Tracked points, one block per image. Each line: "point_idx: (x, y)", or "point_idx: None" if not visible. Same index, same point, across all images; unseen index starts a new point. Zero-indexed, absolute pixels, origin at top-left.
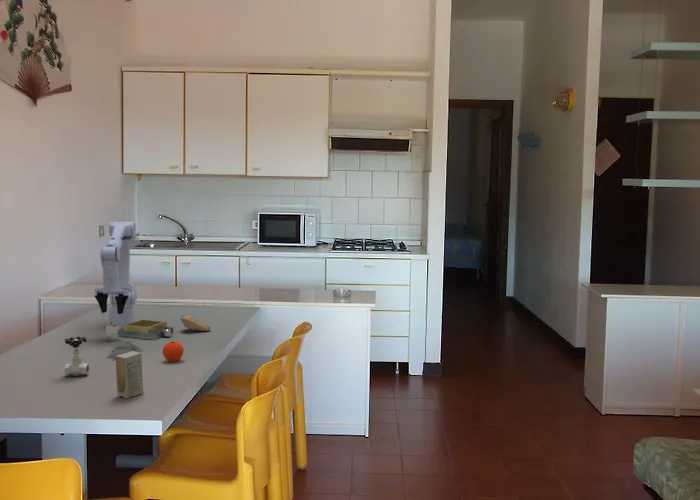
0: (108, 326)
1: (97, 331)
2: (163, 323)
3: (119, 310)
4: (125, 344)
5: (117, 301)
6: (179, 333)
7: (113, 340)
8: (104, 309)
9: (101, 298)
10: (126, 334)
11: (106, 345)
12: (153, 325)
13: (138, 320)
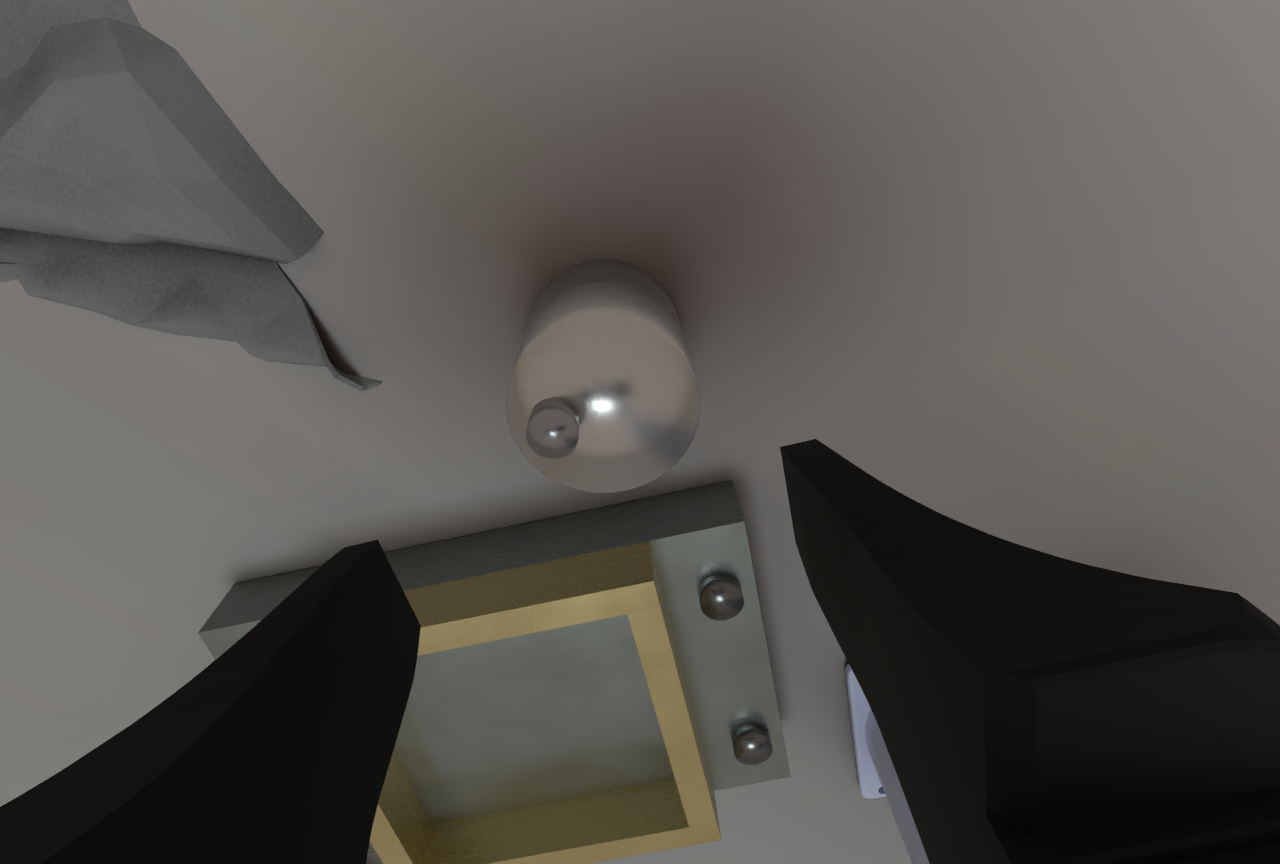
0: (633, 367)
1: (1093, 484)
2: (384, 853)
3: (291, 602)
4: (67, 185)
5: (117, 770)
6: None
7: (535, 305)
8: (804, 530)
9: (934, 700)
10: (595, 524)
11: (416, 107)
12: None
13: (706, 795)
